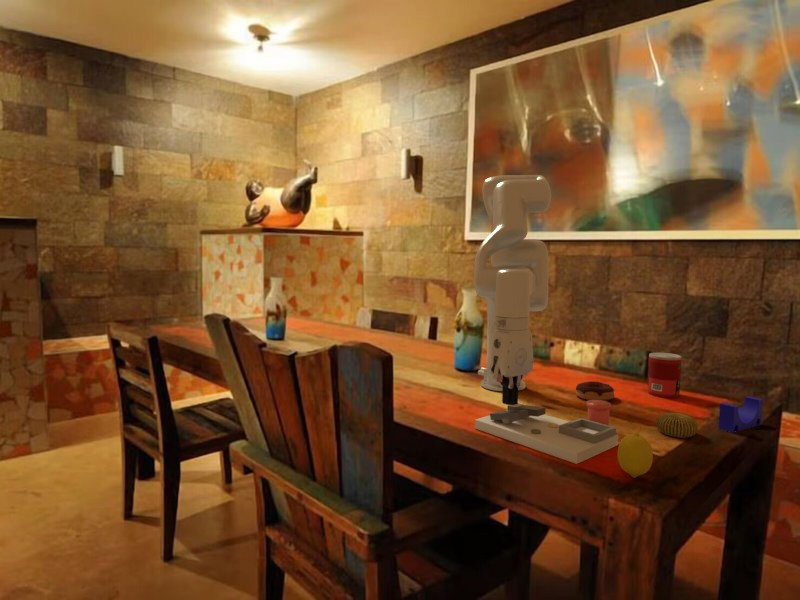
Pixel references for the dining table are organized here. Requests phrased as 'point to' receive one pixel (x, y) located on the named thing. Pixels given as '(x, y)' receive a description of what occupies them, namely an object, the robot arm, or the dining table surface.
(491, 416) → the plain rocker
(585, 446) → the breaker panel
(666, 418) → the sculpture
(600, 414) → the cap
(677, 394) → the canned food
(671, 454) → the dining table surface
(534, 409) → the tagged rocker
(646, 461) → the lemon
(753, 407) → the blue pipe cradle
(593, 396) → the donut
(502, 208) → the robot arm
